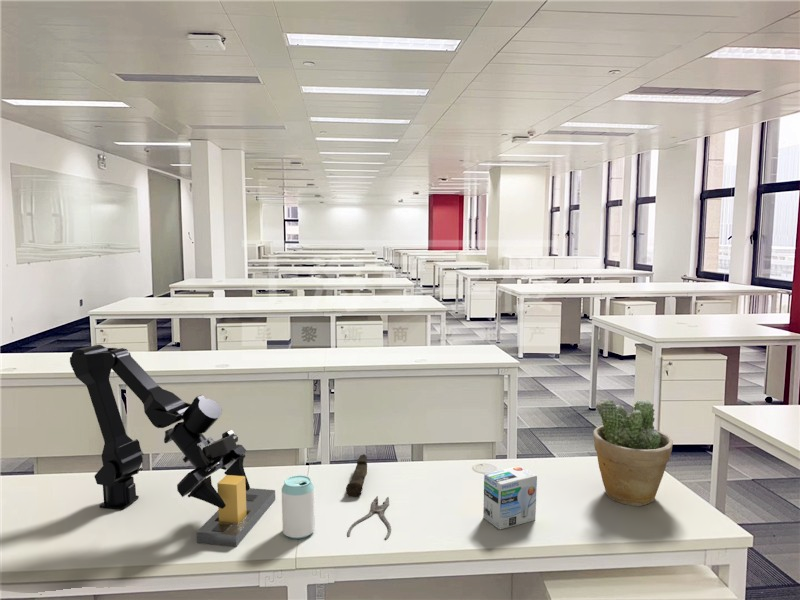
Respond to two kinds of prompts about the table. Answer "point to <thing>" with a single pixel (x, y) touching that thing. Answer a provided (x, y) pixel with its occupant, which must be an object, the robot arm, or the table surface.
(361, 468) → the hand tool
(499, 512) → the light bulb box
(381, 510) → the pliers
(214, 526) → the charcoal peg board
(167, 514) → the table surface
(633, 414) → the potted plant
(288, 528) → the can
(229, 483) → the amber peg
